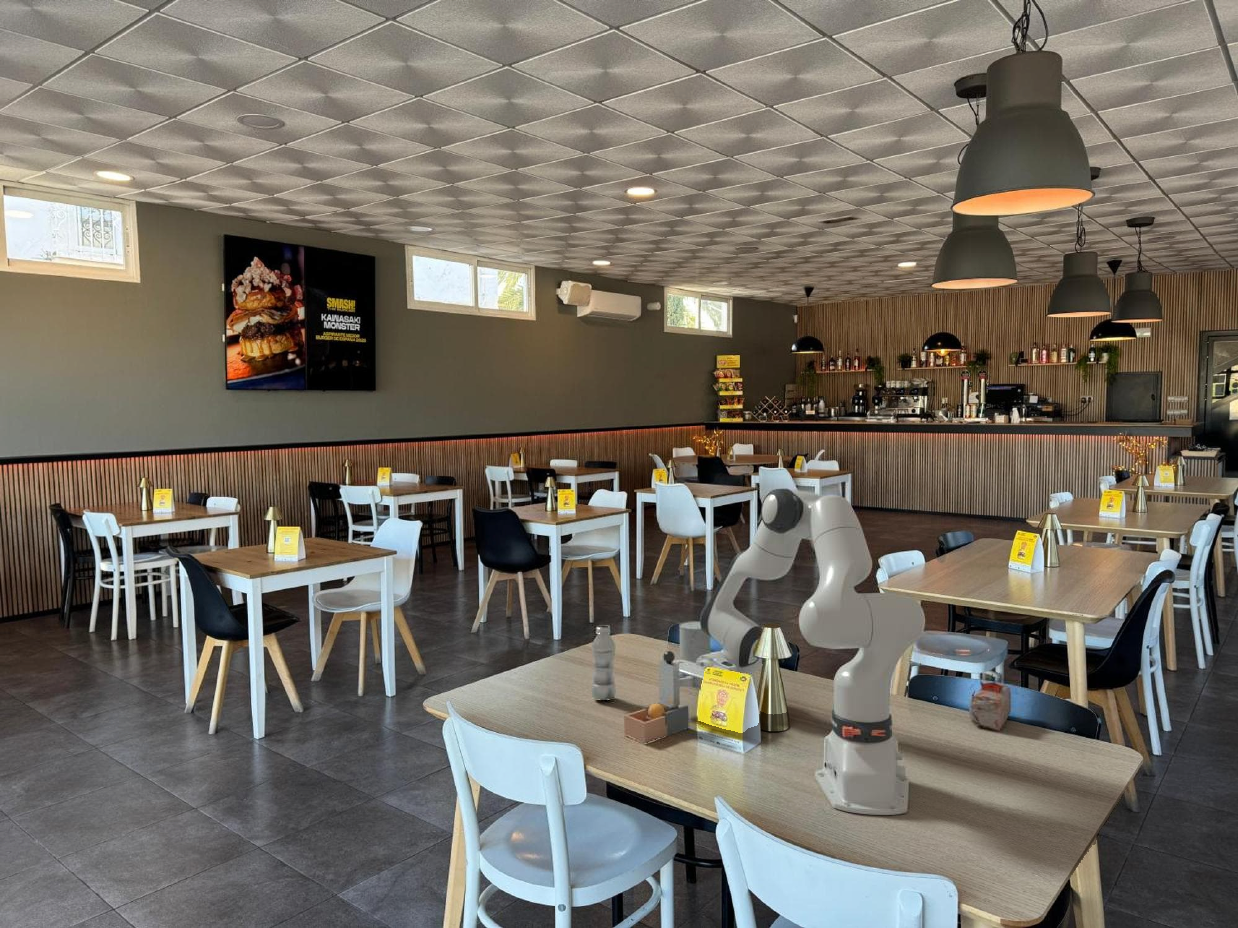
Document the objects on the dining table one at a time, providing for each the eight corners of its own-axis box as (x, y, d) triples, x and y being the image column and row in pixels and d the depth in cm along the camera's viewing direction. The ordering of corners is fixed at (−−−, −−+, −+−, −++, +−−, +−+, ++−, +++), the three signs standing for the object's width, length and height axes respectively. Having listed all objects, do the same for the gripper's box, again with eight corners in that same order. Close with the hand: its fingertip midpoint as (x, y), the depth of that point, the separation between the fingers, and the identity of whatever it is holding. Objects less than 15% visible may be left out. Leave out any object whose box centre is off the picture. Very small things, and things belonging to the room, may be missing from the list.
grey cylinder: (678, 668, 250) (677, 628, 250) (681, 659, 260) (680, 620, 259) (709, 669, 249) (709, 629, 248) (711, 660, 258) (711, 621, 257)
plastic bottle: (604, 694, 228) (603, 622, 227) (621, 699, 223) (620, 626, 222) (586, 699, 224) (585, 626, 222) (604, 705, 219) (602, 631, 218)
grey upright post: (666, 710, 205) (665, 648, 204) (680, 716, 201) (680, 652, 200) (656, 714, 203) (655, 650, 202) (670, 719, 199) (670, 654, 198)
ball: (668, 720, 198) (659, 711, 196) (653, 726, 199) (645, 716, 197) (667, 707, 201) (659, 697, 200) (653, 712, 203) (645, 703, 201)
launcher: (669, 720, 207) (669, 699, 207) (688, 728, 202) (688, 706, 202) (647, 728, 202) (647, 706, 202) (666, 736, 197) (666, 713, 197)
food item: (1003, 734, 196) (1003, 693, 195) (967, 727, 200) (967, 687, 200) (1012, 716, 207) (1013, 677, 206) (978, 710, 211) (979, 672, 211)
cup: (646, 728, 202) (646, 708, 202) (667, 736, 197) (667, 715, 197) (624, 735, 198) (624, 715, 197) (644, 744, 192) (644, 723, 192)
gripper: (682, 650, 219) (643, 661, 210) (741, 667, 204) (702, 679, 195) (682, 674, 220) (644, 685, 211) (741, 692, 204) (702, 705, 195)
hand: (672, 682), depth 203 cm, fingers closed, pressing on grey upright post
